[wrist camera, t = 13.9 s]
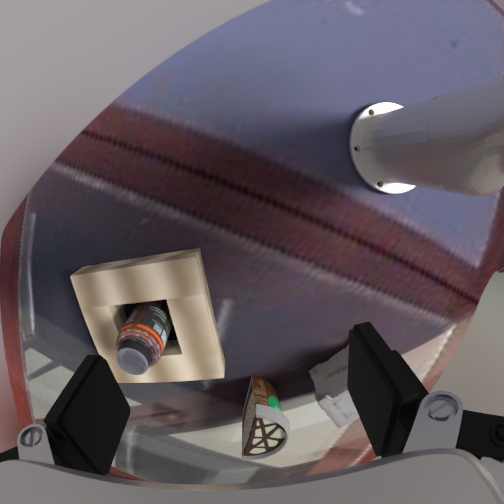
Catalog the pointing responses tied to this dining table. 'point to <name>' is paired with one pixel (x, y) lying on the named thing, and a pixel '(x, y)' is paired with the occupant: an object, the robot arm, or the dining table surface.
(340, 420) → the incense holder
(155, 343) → the supplement bottle
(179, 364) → the socket board
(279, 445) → the food container
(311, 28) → the dining table surface
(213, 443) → the dining table surface
